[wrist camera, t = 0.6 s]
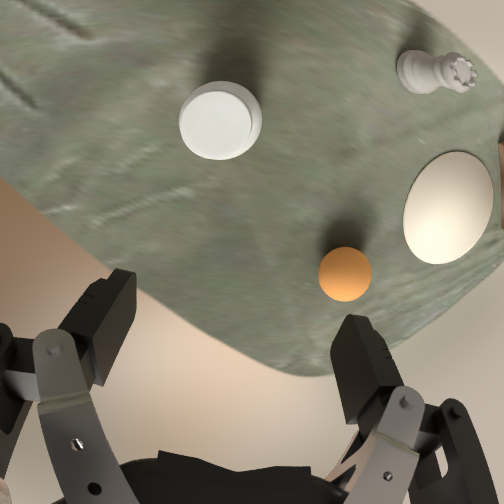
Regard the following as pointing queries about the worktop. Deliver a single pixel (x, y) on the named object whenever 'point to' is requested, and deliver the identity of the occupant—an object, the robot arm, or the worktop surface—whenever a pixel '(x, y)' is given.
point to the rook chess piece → (435, 72)
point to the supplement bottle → (220, 120)
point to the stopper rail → (502, 175)
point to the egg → (344, 274)
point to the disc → (447, 207)
